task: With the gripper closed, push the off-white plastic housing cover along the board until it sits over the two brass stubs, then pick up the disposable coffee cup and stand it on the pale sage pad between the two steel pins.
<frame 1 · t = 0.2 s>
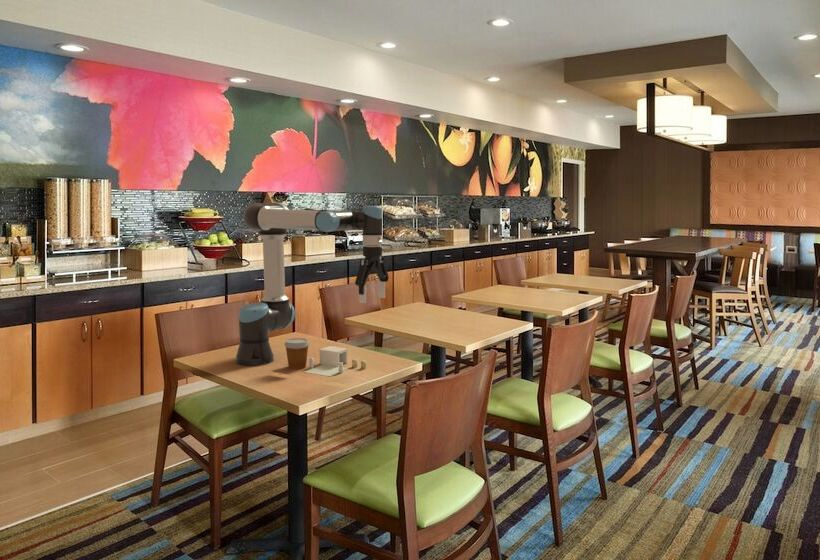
hand: (372, 300, 246), 27 cm above the table, tool pointing down, fingers open, 13 cm apart
board: (337, 372, 244), on the table
disposable coffee cup: (297, 371, 247), on the table
housing: (333, 356, 251), point 4 cm above the table, slide at 0.0 cm
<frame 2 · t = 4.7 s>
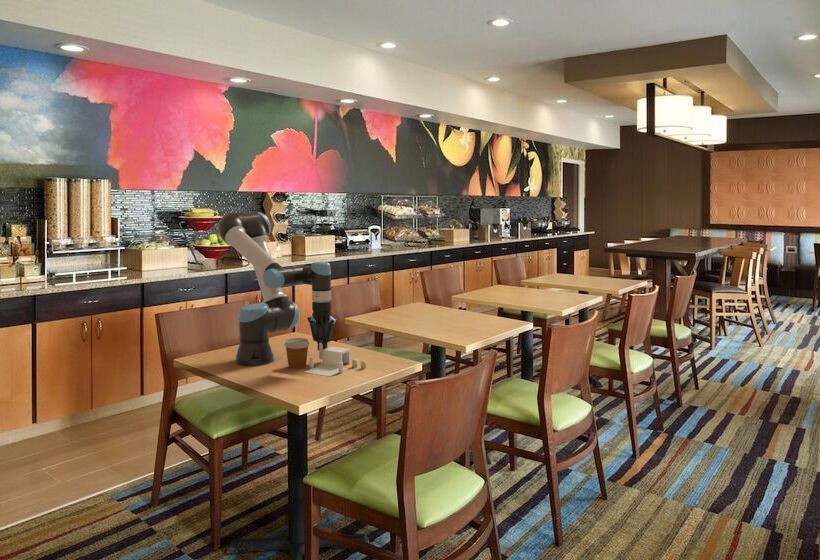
hand: (322, 358, 254), 3 cm above the table, tool pointing down, fingers closed
housing: (336, 356, 251), point 4 cm above the table, slide at 1.3 cm, touching gripper
everything else where it was.
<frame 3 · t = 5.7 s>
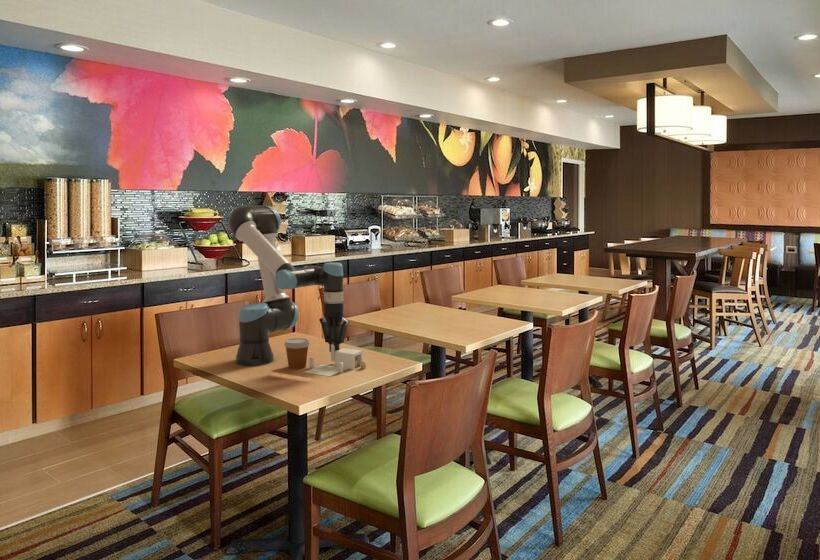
hand: (334, 360, 251), 3 cm above the table, tool pointing down, fingers closed
housing: (348, 358, 248), point 4 cm above the table, slide at 7.1 cm, touching gripper
everything else where it was.
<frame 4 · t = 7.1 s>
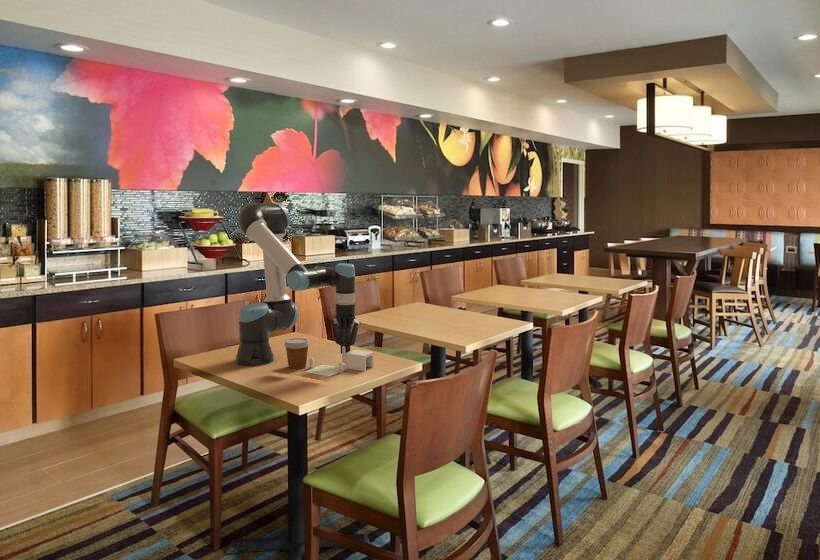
hand: (345, 362, 249), 3 cm above the table, tool pointing down, fingers closed
housing: (359, 360, 246), point 4 cm above the table, slide at 12.1 cm, touching gripper
everything else where it was.
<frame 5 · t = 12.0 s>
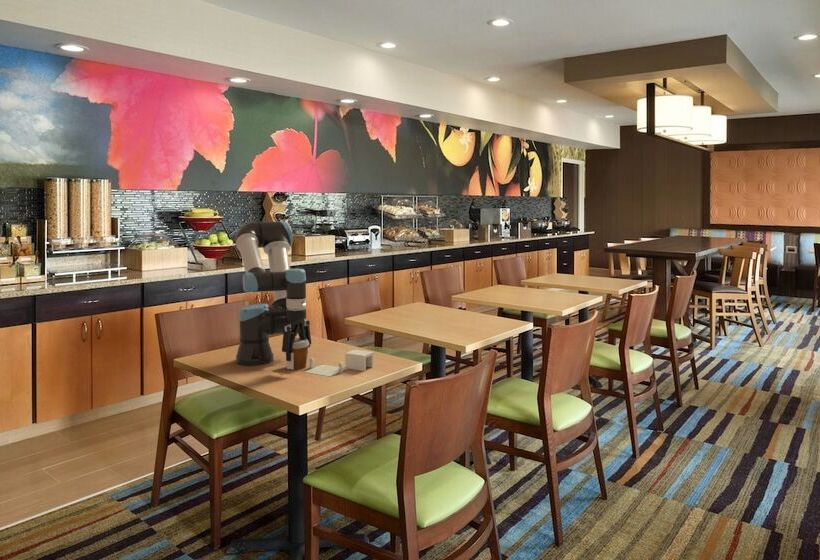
hand: (297, 366, 246), 2 cm above the table, tool pointing down, fingers closed on disposable coffee cup, 8 cm apart
disposable coffee cup: (297, 371, 247), on the table, touching gripper
housing: (359, 360, 246), point 4 cm above the table, slide at 12.0 cm
when the fingers open (5 cm above the table, at t = 17.1 s): disposable coffee cup moves 3 cm, point 2 cm above the table.
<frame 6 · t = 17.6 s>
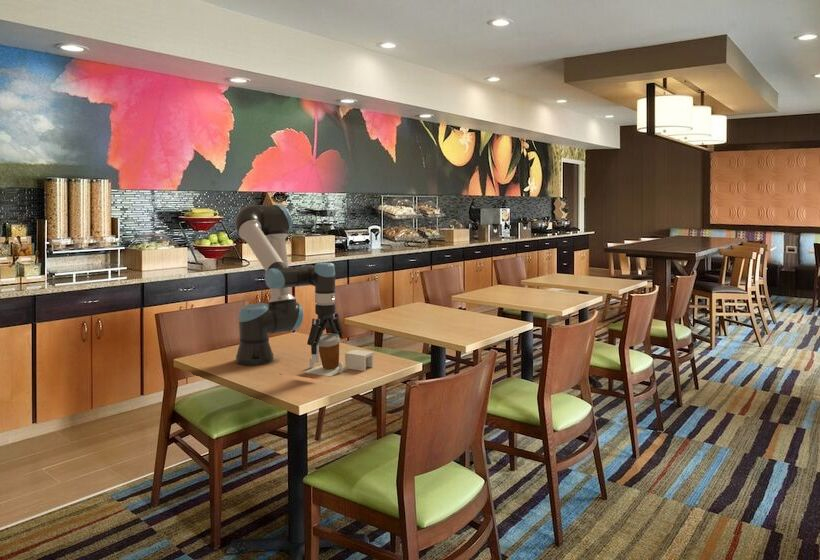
hand: (325, 358, 242), 6 cm above the table, tool pointing down, fingers open, 13 cm apart
disposable coffee cup: (330, 366, 245), point 2 cm above the table, touching gripper
everything else where it was.
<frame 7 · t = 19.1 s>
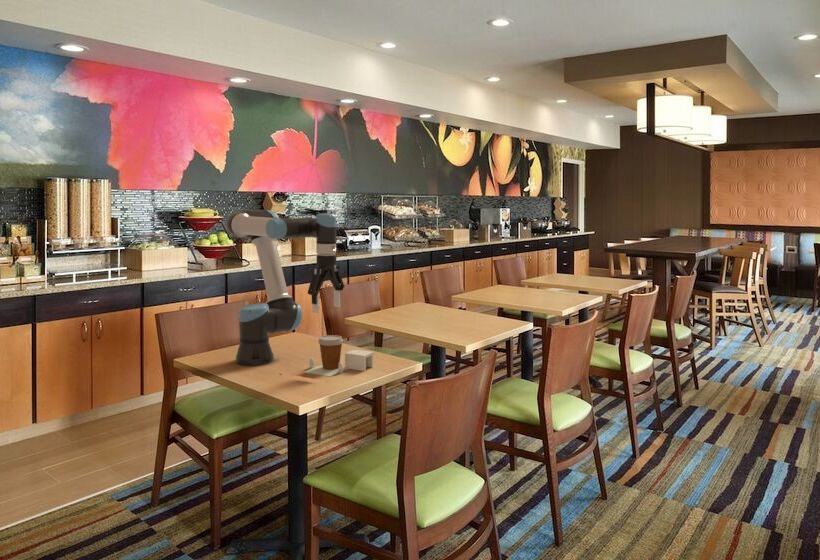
hand: (326, 309, 243), 24 cm above the table, tool pointing down, fingers open, 13 cm apart
disposable coffee cup: (331, 368, 245), point 1 cm above the table, touching board
everything else where it was.
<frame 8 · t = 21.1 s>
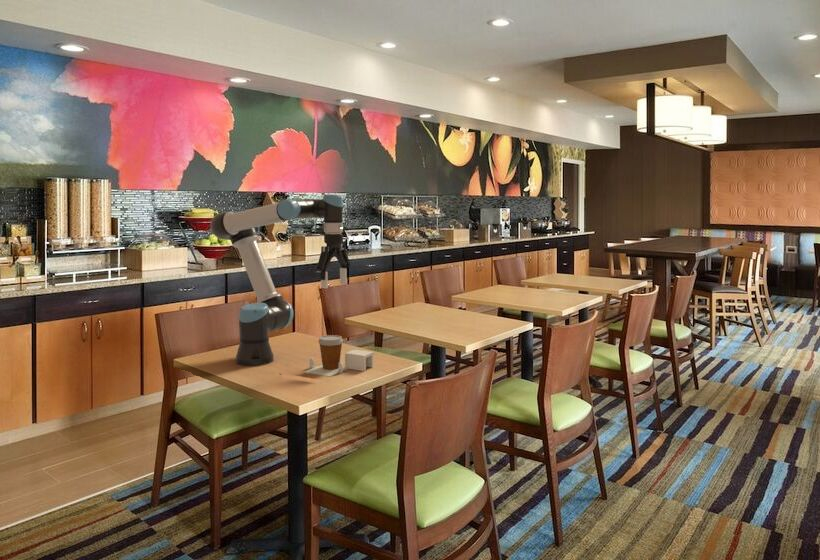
hand: (334, 286, 255), 32 cm above the table, tool pointing down, fingers open, 13 cm apart
nothing on the table moved.
at the end: housing slide at 12.0 cm; disposable coffee cup inside the target area (3.7 cm from its centre), point 1.3 cm above the table; disposable coffee cup tilted 0° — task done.
